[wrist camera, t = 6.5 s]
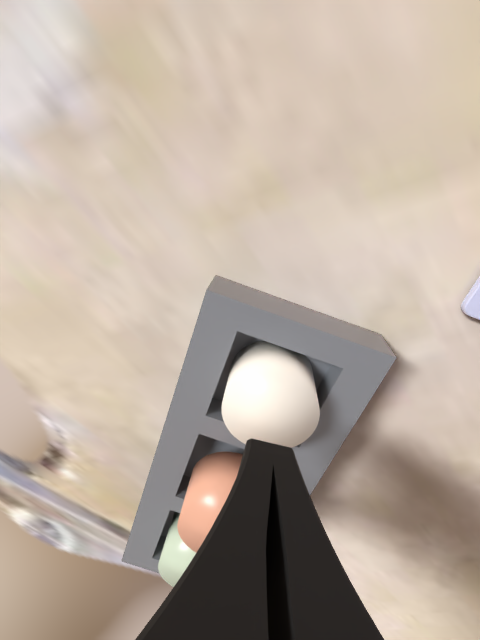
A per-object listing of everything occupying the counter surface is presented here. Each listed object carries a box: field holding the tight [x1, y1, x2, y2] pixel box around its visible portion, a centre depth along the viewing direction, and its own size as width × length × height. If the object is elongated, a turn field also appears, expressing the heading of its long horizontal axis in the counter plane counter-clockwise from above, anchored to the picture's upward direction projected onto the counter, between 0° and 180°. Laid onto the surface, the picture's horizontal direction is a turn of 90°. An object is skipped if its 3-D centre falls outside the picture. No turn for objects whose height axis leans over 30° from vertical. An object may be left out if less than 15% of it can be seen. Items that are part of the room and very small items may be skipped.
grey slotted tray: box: [122, 275, 397, 573], centre depth 20 cm, size 9×21×2 cm, turn 161°
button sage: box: [158, 512, 196, 587], centre depth 22 cm, size 4×4×3 cm
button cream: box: [221, 340, 320, 448], centre depth 16 cm, size 4×4×3 cm
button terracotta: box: [177, 452, 243, 553], centre depth 18 cm, size 4×4×3 cm
